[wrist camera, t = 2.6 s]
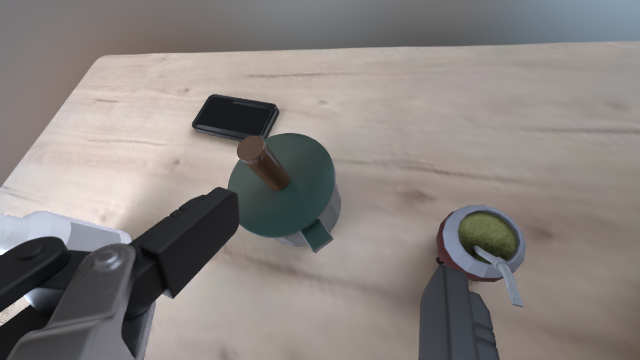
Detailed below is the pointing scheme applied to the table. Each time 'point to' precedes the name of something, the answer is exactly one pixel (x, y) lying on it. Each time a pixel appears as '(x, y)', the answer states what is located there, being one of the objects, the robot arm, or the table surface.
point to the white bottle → (57, 231)
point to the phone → (235, 117)
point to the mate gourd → (482, 245)
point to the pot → (317, 227)
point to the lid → (282, 184)
